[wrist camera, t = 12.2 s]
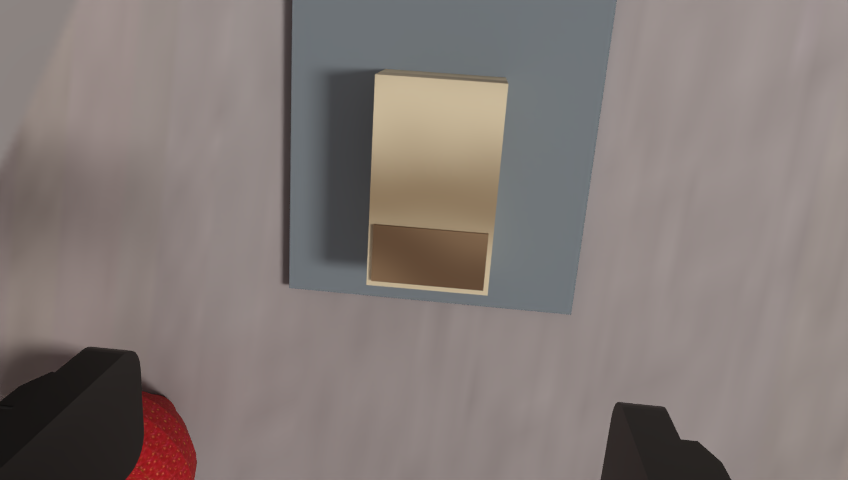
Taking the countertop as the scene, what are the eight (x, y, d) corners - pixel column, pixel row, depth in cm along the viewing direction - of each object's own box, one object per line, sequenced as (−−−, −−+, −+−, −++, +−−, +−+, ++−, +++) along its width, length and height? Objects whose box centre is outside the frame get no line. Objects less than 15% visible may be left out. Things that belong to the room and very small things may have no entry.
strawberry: (125, 316, 34) (-13, 430, 25) (256, 399, 35) (172, 541, 25) (74, 401, 36) (-73, 539, 26) (200, 478, 37) (101, 639, 27)
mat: (640, -182, 26) (643, -186, 26) (569, 310, 32) (570, 314, 32) (298, -202, 27) (294, -206, 26) (291, 283, 33) (289, 287, 32)
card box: (385, 68, 29) (374, 74, 26) (505, 77, 29) (508, 84, 26) (376, 260, 32) (365, 286, 29) (486, 270, 31) (487, 297, 28)
